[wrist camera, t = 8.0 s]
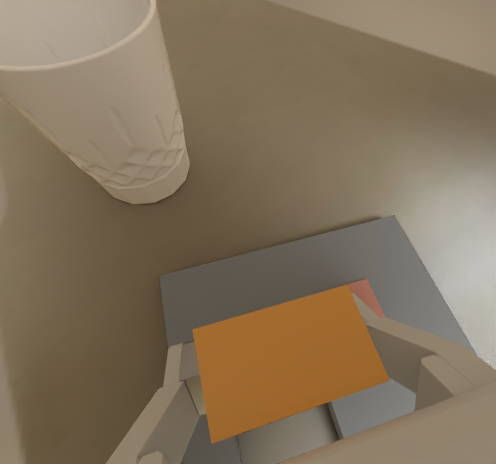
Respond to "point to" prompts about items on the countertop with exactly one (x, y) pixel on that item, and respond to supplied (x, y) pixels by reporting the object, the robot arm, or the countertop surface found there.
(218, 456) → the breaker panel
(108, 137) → the white cup
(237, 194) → the countertop surface
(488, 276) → the countertop surface
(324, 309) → the handle
